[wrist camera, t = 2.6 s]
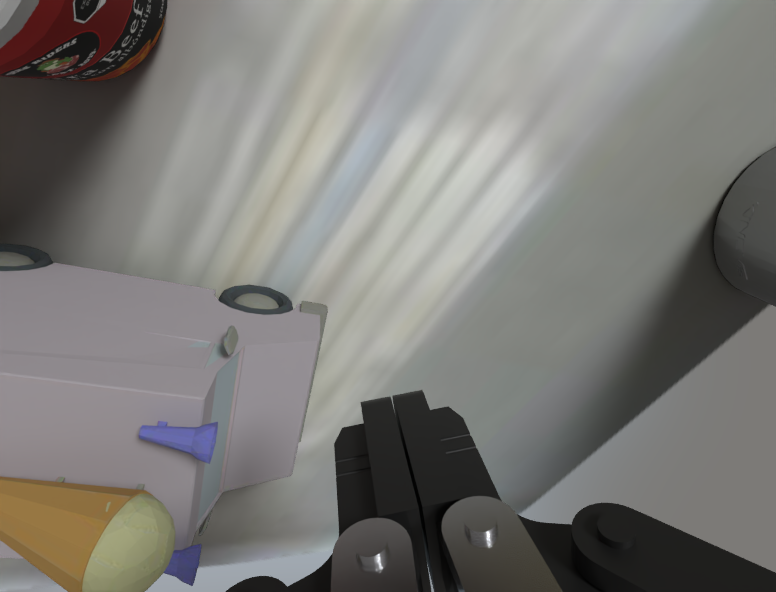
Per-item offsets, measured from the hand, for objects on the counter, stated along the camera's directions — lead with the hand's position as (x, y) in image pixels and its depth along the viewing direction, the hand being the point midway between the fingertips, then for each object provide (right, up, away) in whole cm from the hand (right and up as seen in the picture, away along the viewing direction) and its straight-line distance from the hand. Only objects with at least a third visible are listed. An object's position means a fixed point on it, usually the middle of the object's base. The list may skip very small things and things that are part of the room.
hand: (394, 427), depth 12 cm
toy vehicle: (-14, +2, +15) cm, 20 cm away
